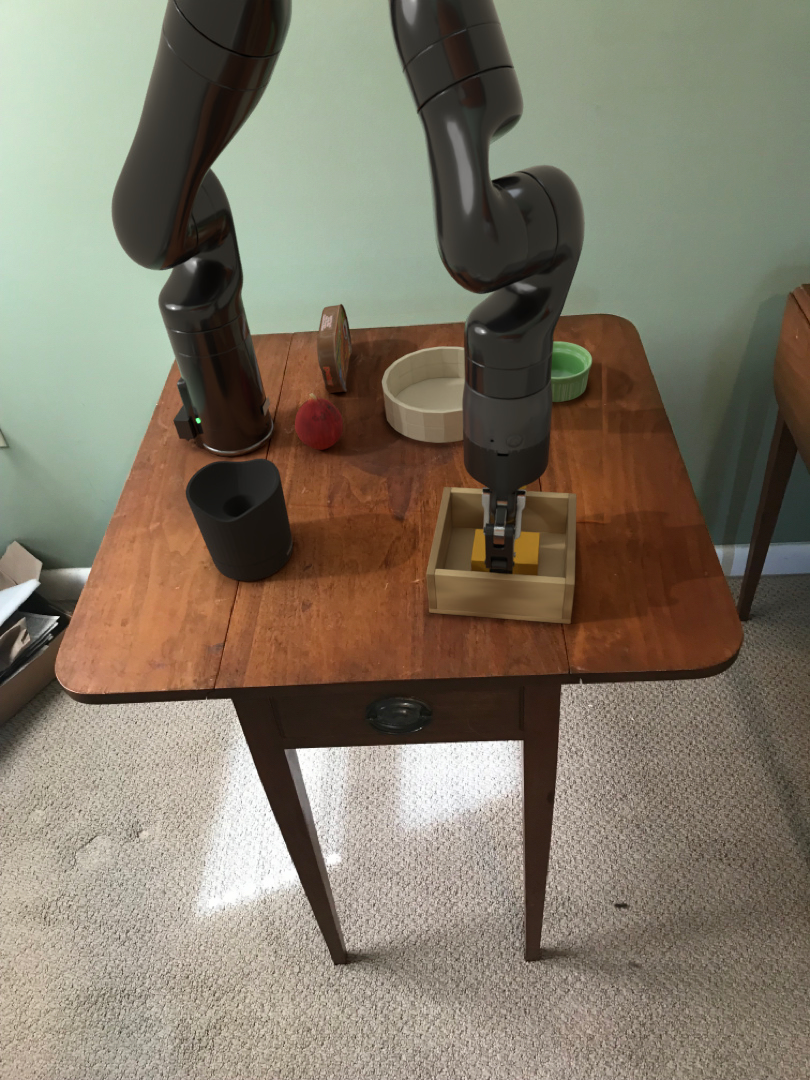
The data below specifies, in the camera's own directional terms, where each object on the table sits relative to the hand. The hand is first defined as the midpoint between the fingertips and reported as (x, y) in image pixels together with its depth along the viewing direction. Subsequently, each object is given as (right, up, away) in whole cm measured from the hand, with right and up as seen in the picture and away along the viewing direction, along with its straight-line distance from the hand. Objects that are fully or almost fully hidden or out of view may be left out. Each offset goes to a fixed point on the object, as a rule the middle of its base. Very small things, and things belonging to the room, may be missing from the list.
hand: (503, 558), depth 77 cm
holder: (0, -1, +1) cm, 2 cm away
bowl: (-5, +19, +23) cm, 30 cm away
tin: (-19, +25, +31) cm, 44 cm away
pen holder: (-26, 0, +6) cm, 27 cm away
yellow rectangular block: (0, -1, +1) cm, 1 cm away
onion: (-20, +13, +19) cm, 31 cm away
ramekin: (+10, +22, +25) cm, 34 cm away
